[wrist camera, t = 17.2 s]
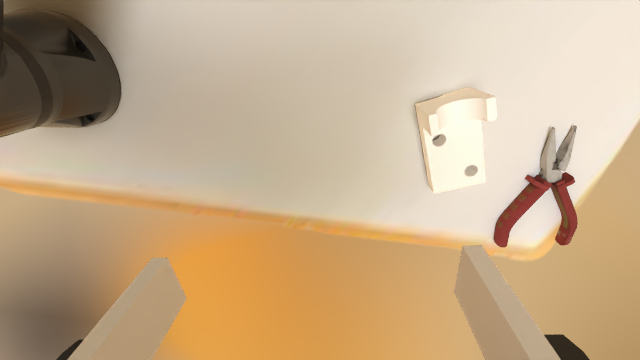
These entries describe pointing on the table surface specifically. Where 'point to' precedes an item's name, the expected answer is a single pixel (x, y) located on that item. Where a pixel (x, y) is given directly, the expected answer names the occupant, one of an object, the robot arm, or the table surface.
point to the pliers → (537, 188)
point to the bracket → (455, 137)
